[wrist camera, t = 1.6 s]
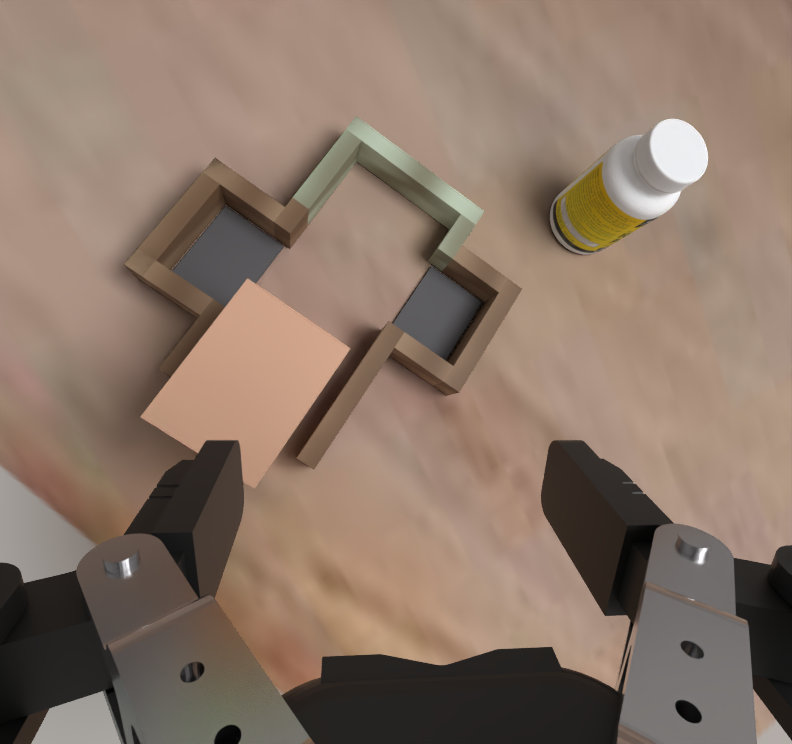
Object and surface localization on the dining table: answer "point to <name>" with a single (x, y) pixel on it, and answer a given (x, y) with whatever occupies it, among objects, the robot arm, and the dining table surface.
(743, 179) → the dining table surface
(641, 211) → the supplement bottle
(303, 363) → the brick
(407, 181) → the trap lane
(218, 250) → the mats
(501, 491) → the dining table surface
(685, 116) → the dining table surface
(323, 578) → the dining table surface
